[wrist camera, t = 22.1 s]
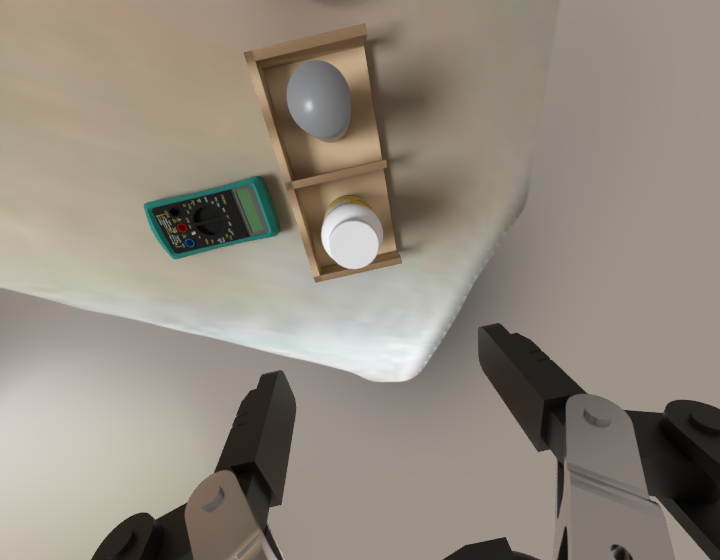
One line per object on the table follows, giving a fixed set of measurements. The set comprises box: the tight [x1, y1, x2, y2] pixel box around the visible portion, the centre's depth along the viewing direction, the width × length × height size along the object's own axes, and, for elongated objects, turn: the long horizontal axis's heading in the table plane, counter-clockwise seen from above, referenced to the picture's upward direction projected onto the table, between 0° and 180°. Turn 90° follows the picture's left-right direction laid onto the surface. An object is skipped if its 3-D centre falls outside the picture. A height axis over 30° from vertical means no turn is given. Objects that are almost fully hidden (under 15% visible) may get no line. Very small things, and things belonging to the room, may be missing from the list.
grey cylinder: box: [287, 60, 351, 143], centre depth 26 cm, size 5×5×10 cm
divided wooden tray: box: [244, 24, 402, 282], centre depth 32 cm, size 24×12×4 cm, turn 12°
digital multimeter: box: [144, 176, 280, 259], centre depth 34 cm, size 7×15×3 cm, turn 102°
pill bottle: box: [321, 195, 383, 269], centre depth 30 cm, size 6×6×12 cm
